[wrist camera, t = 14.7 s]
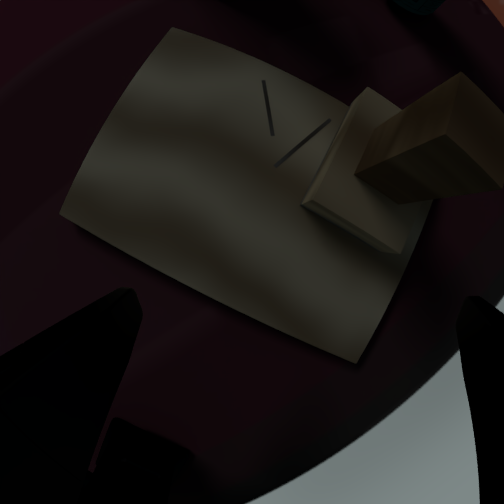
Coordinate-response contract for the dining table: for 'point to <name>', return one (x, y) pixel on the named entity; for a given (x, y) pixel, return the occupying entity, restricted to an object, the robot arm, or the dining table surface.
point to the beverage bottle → (420, 5)
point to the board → (234, 193)
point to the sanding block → (407, 160)
